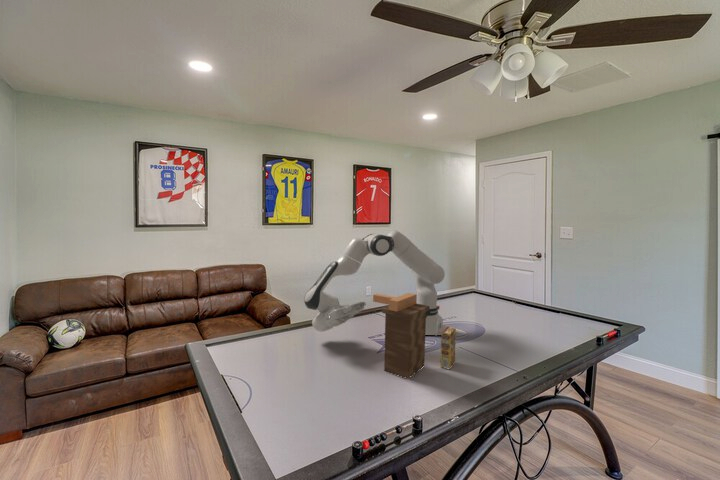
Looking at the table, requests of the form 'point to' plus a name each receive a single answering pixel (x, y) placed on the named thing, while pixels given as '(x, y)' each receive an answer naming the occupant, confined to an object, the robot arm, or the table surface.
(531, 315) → the table surface
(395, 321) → the stand
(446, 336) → the candy box
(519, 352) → the table surface
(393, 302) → the t bar
